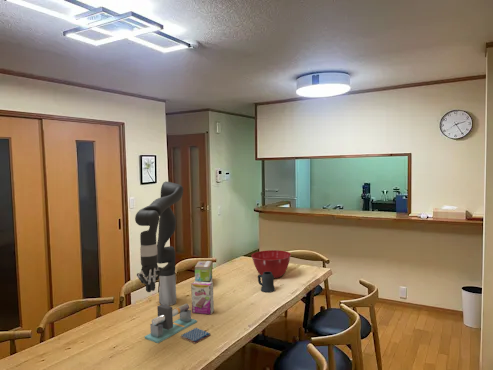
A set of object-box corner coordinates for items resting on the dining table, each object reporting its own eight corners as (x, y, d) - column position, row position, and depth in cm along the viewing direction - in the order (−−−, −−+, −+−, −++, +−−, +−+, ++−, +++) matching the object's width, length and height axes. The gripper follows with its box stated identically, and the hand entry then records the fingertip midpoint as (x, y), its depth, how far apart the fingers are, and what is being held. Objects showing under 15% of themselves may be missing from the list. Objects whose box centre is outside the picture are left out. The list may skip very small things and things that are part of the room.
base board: (157, 343, 164) (157, 340, 164) (144, 338, 169) (144, 336, 169) (196, 322, 185) (196, 319, 185) (184, 318, 190) (184, 316, 190)
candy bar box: (191, 313, 196) (190, 283, 196) (195, 309, 201) (194, 280, 200) (211, 315, 193) (209, 284, 193) (214, 311, 198) (213, 282, 197)
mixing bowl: (247, 280, 250) (246, 258, 249) (257, 269, 277) (257, 249, 276) (287, 283, 242) (287, 260, 241) (294, 271, 269) (294, 250, 268)
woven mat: (195, 330, 177) (195, 326, 177) (211, 336, 170) (211, 332, 170) (179, 338, 169) (179, 334, 169) (195, 345, 162) (194, 341, 162)
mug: (278, 289, 230) (277, 272, 229) (269, 293, 223) (268, 275, 223) (263, 285, 238) (263, 269, 237) (254, 289, 231) (253, 272, 231)
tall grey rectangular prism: (168, 329, 170) (167, 309, 170) (158, 326, 174) (157, 306, 174) (173, 327, 173) (172, 307, 172) (162, 324, 177) (162, 304, 176)
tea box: (210, 288, 236) (209, 266, 235) (194, 289, 236) (194, 266, 235) (212, 281, 251) (212, 260, 250) (198, 281, 251) (197, 260, 250)
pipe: (158, 338, 167) (157, 320, 166) (150, 335, 169) (150, 317, 169) (191, 320, 185) (190, 304, 184) (184, 318, 187) (183, 302, 187)
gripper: (155, 249, 173) (156, 285, 174) (131, 256, 162) (133, 294, 163) (166, 251, 169) (167, 288, 170) (142, 258, 157) (144, 297, 158)
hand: (150, 291), depth 166 cm, fingers closed
